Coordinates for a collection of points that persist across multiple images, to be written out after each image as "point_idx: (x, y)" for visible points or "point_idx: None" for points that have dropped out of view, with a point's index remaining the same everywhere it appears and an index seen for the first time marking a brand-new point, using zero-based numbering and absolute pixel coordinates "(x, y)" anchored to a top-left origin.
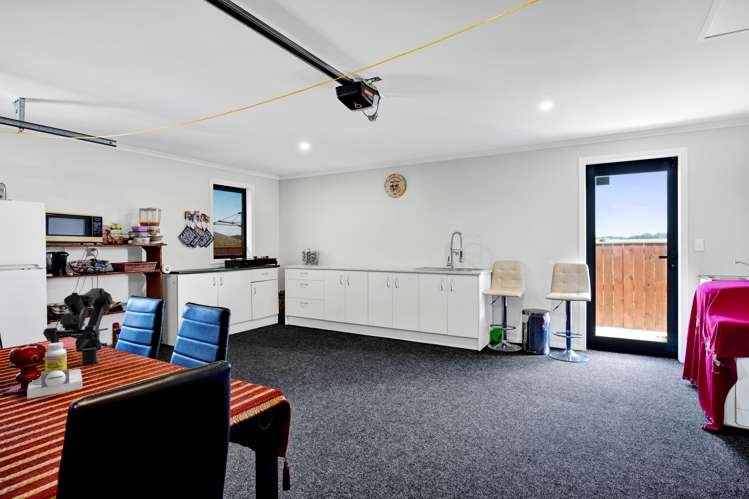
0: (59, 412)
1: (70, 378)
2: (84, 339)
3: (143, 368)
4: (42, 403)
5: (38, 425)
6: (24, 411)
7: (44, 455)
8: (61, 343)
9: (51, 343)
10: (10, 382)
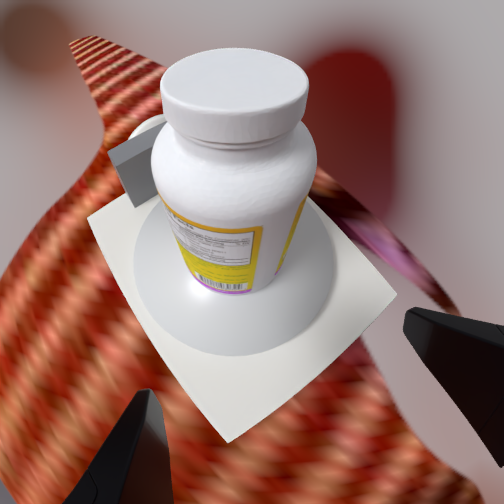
0: (98, 103)
1: (141, 229)
2: (76, 490)
3: (16, 470)
4: None
5: (114, 74)
6: None
7: (82, 52)
8: (175, 82)
9: (488, 324)
10: None
